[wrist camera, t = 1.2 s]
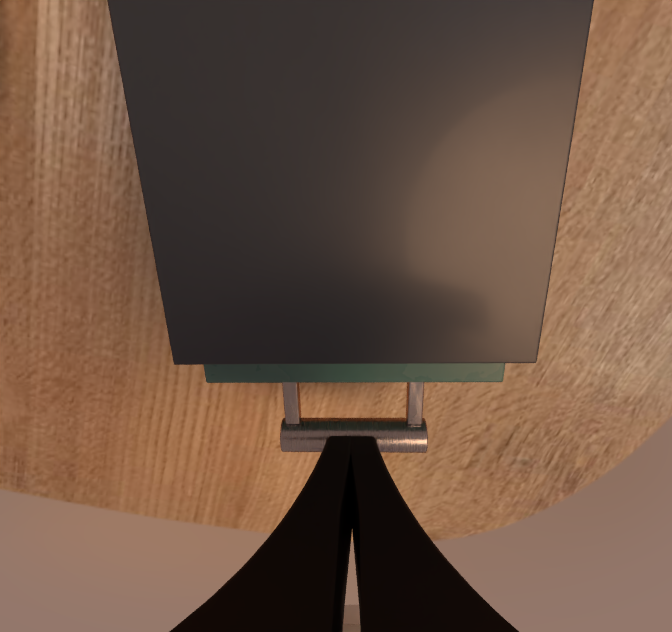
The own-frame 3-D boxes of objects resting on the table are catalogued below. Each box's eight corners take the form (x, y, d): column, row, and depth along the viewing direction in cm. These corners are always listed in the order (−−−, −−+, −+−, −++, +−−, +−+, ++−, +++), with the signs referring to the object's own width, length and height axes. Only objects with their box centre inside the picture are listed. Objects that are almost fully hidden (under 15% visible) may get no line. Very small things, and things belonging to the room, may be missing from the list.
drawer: (458, 404, 21) (490, 482, 16) (251, 404, 21) (220, 479, 17) (494, -2, 15) (563, -79, 10) (206, 11, 15) (137, -55, 11)
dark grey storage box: (476, 293, 20) (536, 363, 13) (232, 296, 20) (173, 365, 14) (511, -72, 15) (635, -251, 8) (190, -55, 16) (68, -209, 9)
